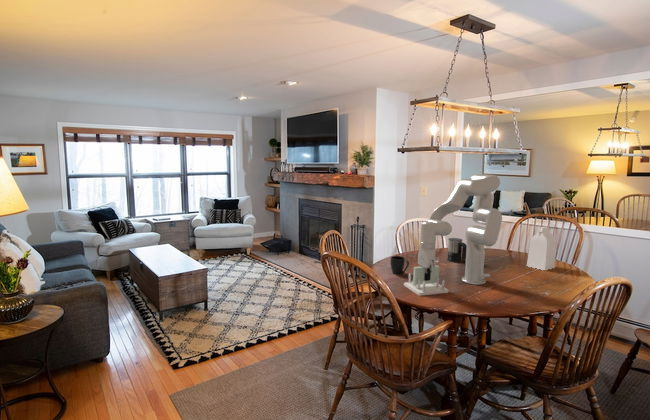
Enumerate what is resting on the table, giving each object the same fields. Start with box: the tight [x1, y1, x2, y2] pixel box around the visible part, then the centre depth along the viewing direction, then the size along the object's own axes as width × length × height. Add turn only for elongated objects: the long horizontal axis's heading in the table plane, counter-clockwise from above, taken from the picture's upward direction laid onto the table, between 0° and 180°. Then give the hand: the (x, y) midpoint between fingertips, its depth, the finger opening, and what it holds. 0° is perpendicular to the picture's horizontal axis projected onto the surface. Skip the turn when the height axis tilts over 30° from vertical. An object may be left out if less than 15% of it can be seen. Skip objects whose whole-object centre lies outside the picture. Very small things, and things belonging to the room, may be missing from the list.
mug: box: [390, 255, 410, 275], centre depth 225 cm, size 8×12×10 cm
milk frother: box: [446, 237, 467, 263], centre depth 256 cm, size 14×16×15 cm
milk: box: [526, 226, 557, 271], centre depth 241 cm, size 12×12×26 cm
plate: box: [412, 264, 440, 285], centre depth 199 cm, size 14×2×9 cm, turn 107°
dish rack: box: [403, 273, 450, 296], centre depth 200 cm, size 17×16×6 cm
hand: (425, 279), depth 199 cm, fingers closed on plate, 2 cm apart
